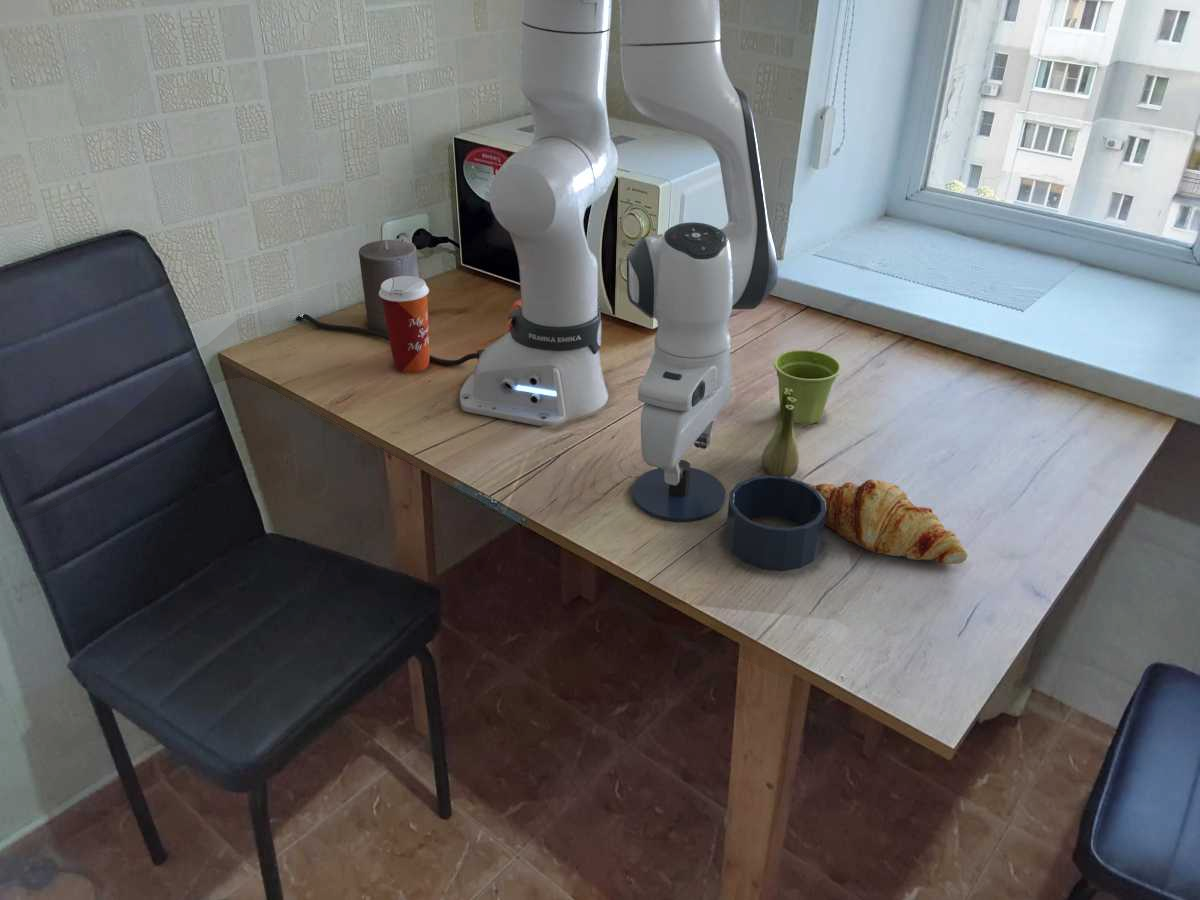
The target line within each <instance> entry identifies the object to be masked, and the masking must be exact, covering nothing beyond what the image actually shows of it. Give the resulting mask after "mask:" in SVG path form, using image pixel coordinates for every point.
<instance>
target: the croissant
mask: <svg viewBox="0 0 1200 900" xmlns="http://www.w3.org/2000/svg"><path fill="white" fill-rule="evenodd" d="M806 484H807V485H809V486H811V487H812V488H814V489H816V490H817V491H818V492H819V493H820V495H821V496H822V497H823V499H824V500H825V502H826V517H825V523H824V525H825V526H826V527H829V528H830V529H832V530H833V531H834V532H835V533H836V534H837V535H838V536H839V537H841V538H842V539H845V540H847V541H849V542H851V543H852V544H856V545H858V546H859V547H862V548H864V549H867V551H871V552H873V553H878V554H881V555H886V556H891V557H906V559H910V560H914V561H915V560H916V561H919V560H924V561H930V560H933V561H935V562H937V563H938V564H943V565H958V564H961V563H964V562H965V561H966V560H967V558H968V552H967V551H966V550H965V549H964V546H963V545H962V542H961V541H960V539H959V538H958V537H957V535H956V534H955V532H954V531H952V530H948V529H946V528H945V526H944V525H943V524H942V523H941V521H940V519H939V517H938V516H937V515H936V514H935V513H933V509H932V508H929V507H924V506H916V505H914V503H913V502H912V501H911V500H910V499H909V498H908V496H907V494H906V493H905V492H904V490H902V489H900V487H899V486H897V485H896V484H892V483H889V482H886V481H883V480H880V479H879V480H877V479H867V480H865V481H864V482H863V483H862V484H860V485H858V484H855V483H853V482H849V481H848V482H845V483H843V484H842V485H841V486H837V487H836V485H834V484H832V483H819V484H817V485H814V484H811V483H806Z"/></svg>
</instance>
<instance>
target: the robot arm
mask: <svg viewBox="0 0 1200 900" xmlns="http://www.w3.org/2000/svg"><path fill="white" fill-rule="evenodd" d="M612 1H613V0H522V2H521V17H520V42H519V43H520V44H519V45H520V46H519V77H518V83H519V88H520V91H521V93H522V94H523V95H524V96H525V98H526V99H527V101H528V104H529V108H530V113H531V118H532V124H533V135H532V136H533V137H532V140H531V143H530V144H529V145H527V146H525V147H523V148H521V149H520V150H518V151H516V152H515V153H513V154H511V156H509V157H508V158H507V159H506V161H505V162H504V163H503V164H502V165H501V166H500V168H499V169H498V171H496V173H495V174H494V176H493V178H492V180H491V182H490V185H489V190H488V191H489V192H488V200H489V205H490V209H491V211H492V213H493V216H494V217H495V219H496V221H497V222H498V224H500V226H501V227H502V228H503V229H505V230H506V231H507V232H509V235H510V238H511V241H512V243H513V246H514V250H515V254H516V257H517V263H518V269H519V284H520V285H519V286H520V299H517V300H515V301H514V302H513V305H512V306H511V308H510V313H509V315H508V321H507V323H506V324H507V333H505V334H504V335H502V336H501V337H499V338H497V339H496V340H495V341H492V342H491V343H490V344H488V346H486V348H484V349H476V352H475V353H469V354H466V355H464V356H462V357H460V358H458V359H444V358H443V359H442V358H439V357H435V356H433V355H430V354H429V358H430V360H429V362H432V363H434V364H437V365H442V366H459V365H462V364H464V363H466V362H468V361H470V360H475V359H477V360H476V361H477V362H476V365H475V367H474V368H475V369H474V372H473V373H471V374H470V376H468V378H467V379H466V380H465V382H464V383H463V385H462V387H461V389H460V392H459V406H460V408H461V410H462V411H463V412H466V413H470V414H476V415H481V416H485V417H490V418H491V417H492V418H495V419H503V420H506V421H512V422H517V423H523V424H527V425H533V426H538V427H542V426H556V425H559V424H561V423H563V422H565V421H567V420H569V419H573V418H577V417H581V416H584V415H588V414H590V413H592V412H595V411H596V410H598V409H600V408H604V407H605V405H606V404H607V402H608V400H609V392H608V389H607V387H606V383H605V379H604V375H603V370H602V369H603V368H602V362H601V355H600V354H601V353H600V349H601V345H602V330H603V329H602V317H601V310H600V308H599V305H598V303H599V302H598V300H599V298H598V297H599V295H598V294H599V265H598V260H597V257H596V255H595V254H594V252H593V251H592V250H590V248H589V244H588V241H587V237H586V233H585V228H584V227H585V226H584V218H585V213H586V210H587V209H588V208H589V207H590V206H592V205H593V204H594V203H595V202H597V201H598V200H600V199H601V198H602V197H603V196H604V195H605V194H606V192H607V191H608V189H609V187H610V186H611V184H612V182H613V181H614V179H615V176H616V174H617V171H618V166H619V157H618V151H617V148H616V145H615V143H614V142H613V140H612V139H611V133H610V132H611V131H610V125H609V115H608V108H607V107H608V106H607V77H608V76H607V75H608V62H609V51H610V50H609V48H610V38H611V37H610V36H611V23H612ZM618 1H619V12H620V15H619V16H620V17H619V18H620V19H619V21H620V22H619V30H620V33H619V34H620V37H619V38H620V42H619V43H620V65H621V74H622V81H623V87H624V91H625V95H626V96H627V98H628V99H629V101H630V103H631V104H632V106H633V107H634V108H635V110H637V111H638V112H639V113H640V114H642V115H643V116H644V117H645V118H647V119H649V120H650V121H652V122H654V123H656V124H659V125H661V126H663V127H665V128H668V129H670V130H674V131H677V132H679V133H683V134H686V135H688V136H691V137H693V138H696V139H699V140H701V141H703V142H704V143H706V144H708V145H709V147H711V148H712V150H713V151H714V152H715V154H716V156H717V158H718V161H719V165H720V173H721V178H722V186H723V191H724V192H723V193H724V198H725V204H726V211H727V217H728V221H727V224H726V225H725V226H724V227H722V228H718V227H716V226H713V225H711V224H709V223H708V224H707V223H703V222H693V221H692V222H690V221H689V222H682V223H678V224H675V225H673V226H671V227H669V228H667V229H666V230H665V231H664V232H663V233H659V234H652V235H648V236H645V237H641V238H640V239H639V240H638V241H637V242H636V243H635V244H634V245H633V247H632V248H631V250H630V251H629V252H628V254H627V255H626V293H627V294H626V295H627V298H628V300H629V302H630V303H631V304H632V305H633V306H634V307H635V308H637V310H639V311H640V312H642V314H644V315H645V316H646V317H648V318H650V319H652V318H653V319H655V320H656V322H657V330H656V334H655V337H654V353H653V354H652V356H651V359H650V364H649V367H648V368H647V371H646V373H645V375H644V376H643V378H642V380H641V382H640V383H639V386H638V389H637V399H638V401H639V402H641V403H643V406H642V409H641V413H640V445H641V449H640V450H641V456H642V460H643V461H644V462H645V464H646V465H648V466H651V467H654V468H662V469H663V470H664V480H665V482H666V483H667V484H671V485H677V484H678V483H679V482H680V480H681V479H682V472H683V468H680V467H679V462H680V460H682V458H683V457H684V456H685V455H686V453H687V452H688V451H689V449H691V447H692V446H693V445H694V447H695V448H698V449H702V450H706V449H707V448H708V447H709V446H710V444H711V443H712V433H713V429H714V426H715V423H716V420H717V416H718V414H719V413H720V412H721V411H722V410H723V409H724V407H725V406H726V405H727V404H728V402H729V401H730V398H731V393H732V377H733V376H732V359H731V358H732V357H731V356H730V355H731V336H730V331H729V320H730V317H731V314H732V313H733V312H732V311H733V310H754V309H756V308H758V306H759V305H761V304H762V303H763V302H765V300H766V299H767V298H768V297H769V296H770V294H772V292H773V291H774V289H775V287H776V286H777V283H778V278H779V277H778V276H779V267H778V266H779V265H778V260H777V255H776V249H775V244H774V241H773V236H772V232H771V229H770V224H769V223H770V222H769V217H768V211H767V202H766V195H765V189H764V181H763V174H762V167H761V159H760V152H759V146H758V140H757V139H758V138H757V133H756V128H755V123H754V118H753V113H752V109H751V106H750V104H749V103H750V102H749V100H748V97H747V95H746V93H745V92H744V91H743V90H742V89H740V88H738V87H736V86H734V85H733V84H732V82H731V80H730V78H729V75H728V74H727V71H726V68H725V65H724V62H723V57H722V56H723V55H722V48H721V45H722V44H721V8H720V0H618ZM303 314H304V315H303V318H302V317H300V316H299V315H296V318H295V321H296V322H300V321H302V320H303V319H304V320H305V321H308V322H309V323H310V324H312V325H314V326H316V327H318V328H321V329H324V330H331V331H332V330H333V331H341V332H353V333H360V334H364V335H368V336H373V337H376V338H380V339H383V340H386V341H388V342H390V339H389V334H384V333H381V332H377V331H374V330H371V329H370V328H363V327H359V326H351V325H340V324H331V323H325V322H321V321H318V320H317V319H315V318H314V317H312V316H311V315H309V314H307V313H303Z"/></svg>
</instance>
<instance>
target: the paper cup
mask: <svg viewBox="0 0 1200 900" xmlns="http://www.w3.org/2000/svg"><path fill="white" fill-rule="evenodd" d="M418 277H419V276H418ZM418 277H414V276H399V277H394V278H390V279H387V280H385V281H384V282H383V283H382V284H381V289H380V291H379V296H380V297H381V298H382V302H383V308H384V313H385V318H386V324H387V329H388V334H387V335H389V339H390V341H389V344H390V349H391V355H392V359H393V363H394V368H395V370H397V371H399V372H402V373H408V374H409V373H418V372H421V371H424V370H426V369H427V368H428V367H429V366H430V361H429V360H430V358H429V355H430V330H429V329H430V327H429V307H428V306H429V305H428V303H429V302H428V301H429V300H428V294H429V292H430V287H428V285H427V283H426V281H425V280H424V279H423V278H421V277H419V278H418Z"/></svg>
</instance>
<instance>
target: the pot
mask: <svg viewBox="0 0 1200 900" xmlns="http://www.w3.org/2000/svg"><path fill="white" fill-rule="evenodd" d="M807 484H808V483H806V482H804V481H801V480H798V479H795V478H791V477H782V476H771V475H768V474H767V475H757V476H752V477H749V478H747V479H744V480H742V481H740V482H738V483H736V484H735V485H734V487H732V489H731V490H730V491H729V493H728V494H729V495H728V503H727V504H728V505H727V516H726V526H725V539H724V540H725V541H724V543H725V545H726V546H727V548H728V550H729V551H730V553H731V555H733V556H734V557H736V558H737V559H738V560H740V561H741V562H742V563H744V564H746V565H750V566H751V567H755V568H758V569H760V570H766V571H774V572H775V571H777V572H786V571H787V572H788V571H793V570H799V569H802V568H803V567H805V566H808V565H810V564H811V563H813V562H814V561H815V559H816V558H817V557H818V556H819V554H820V553H821V547H822V541H823V535H824V528H825V524H824V523H825V517H826V502H825V500H824V499H823V497H822V496H821V495H820V493H819V492H818V491H817V490H816V489H814V488H812V487H811V486H809V485H807ZM761 517H762V518H763V517H768V518H780V519H783V520H786V521H789V522H793V523H795V524H797V526H790V527H779V526H770V525H769V526H768V525H766V524H762V523H760V522H757V521H753V520H751V519H754V518H761Z"/></svg>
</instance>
